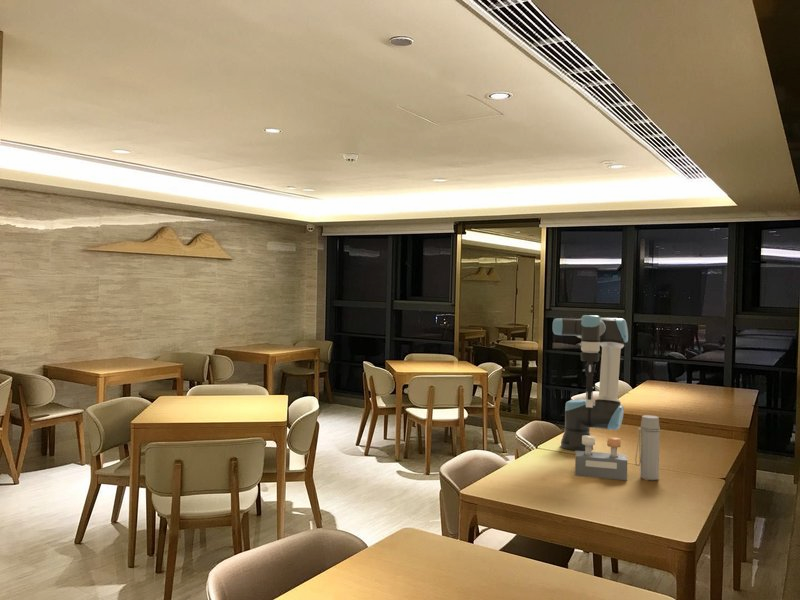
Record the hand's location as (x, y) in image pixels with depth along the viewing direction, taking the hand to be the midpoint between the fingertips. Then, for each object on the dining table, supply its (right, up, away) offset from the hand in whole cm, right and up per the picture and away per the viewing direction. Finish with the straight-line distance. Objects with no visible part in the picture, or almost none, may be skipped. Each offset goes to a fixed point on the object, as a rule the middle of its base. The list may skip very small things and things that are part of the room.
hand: (589, 405), depth 271 cm
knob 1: (-2, -23, -7) cm, 24 cm away
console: (+2, -27, -8) cm, 28 cm away
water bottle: (+20, -28, -12) cm, 36 cm away
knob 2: (+7, -23, -9) cm, 26 cm away
